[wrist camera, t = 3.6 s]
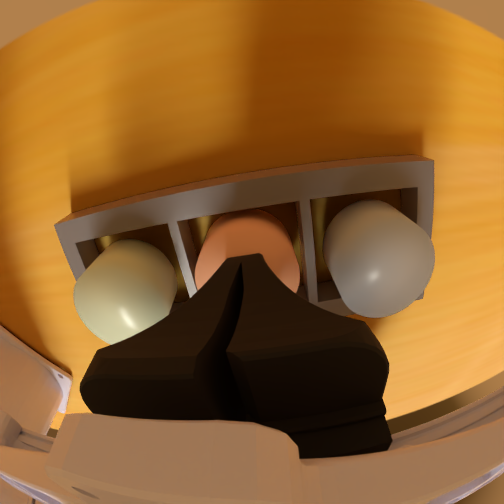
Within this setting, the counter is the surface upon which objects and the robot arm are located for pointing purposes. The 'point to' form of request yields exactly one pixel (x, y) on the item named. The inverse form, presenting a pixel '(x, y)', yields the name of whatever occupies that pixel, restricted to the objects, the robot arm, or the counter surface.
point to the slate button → (377, 258)
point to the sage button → (125, 290)
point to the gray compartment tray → (251, 196)
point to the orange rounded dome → (248, 245)
